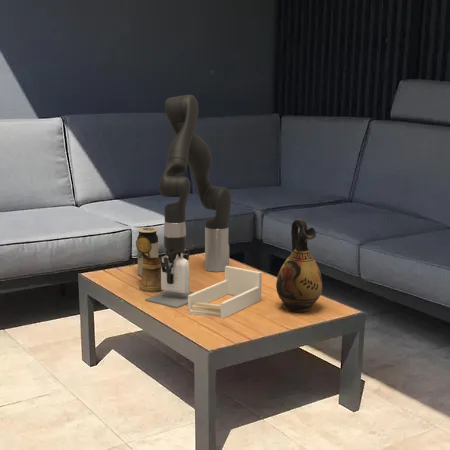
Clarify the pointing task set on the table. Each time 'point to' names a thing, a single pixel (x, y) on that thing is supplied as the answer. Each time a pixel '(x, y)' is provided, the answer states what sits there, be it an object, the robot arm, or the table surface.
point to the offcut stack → (206, 309)
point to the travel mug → (153, 238)
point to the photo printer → (177, 277)
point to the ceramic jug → (299, 272)
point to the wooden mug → (149, 267)
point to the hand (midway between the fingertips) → (175, 281)
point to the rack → (232, 291)
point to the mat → (170, 299)
